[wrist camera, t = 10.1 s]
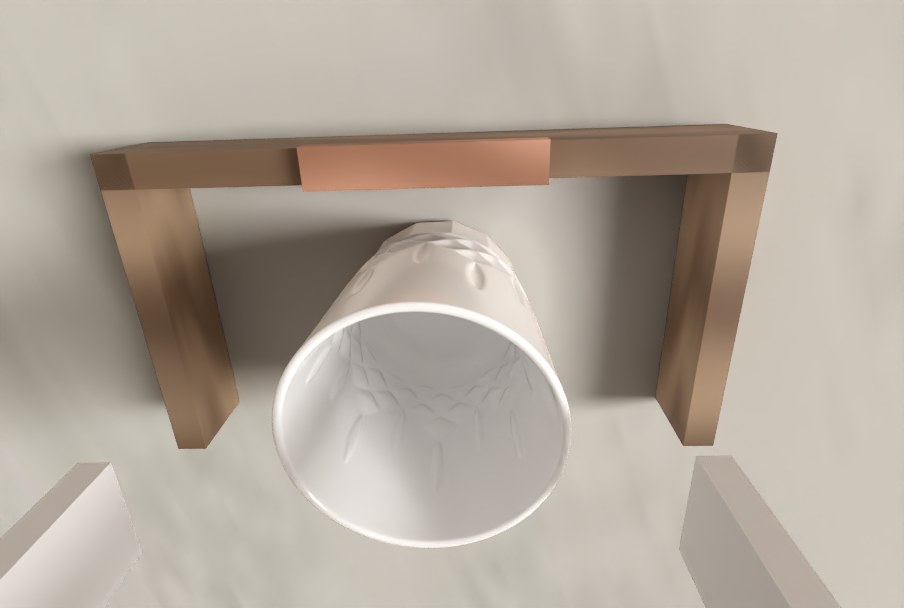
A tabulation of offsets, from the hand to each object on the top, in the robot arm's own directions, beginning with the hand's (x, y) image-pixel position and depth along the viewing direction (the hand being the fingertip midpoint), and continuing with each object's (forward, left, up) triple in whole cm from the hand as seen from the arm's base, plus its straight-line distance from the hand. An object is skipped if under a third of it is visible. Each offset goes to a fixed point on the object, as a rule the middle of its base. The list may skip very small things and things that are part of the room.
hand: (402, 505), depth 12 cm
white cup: (0, 0, -12) cm, 12 cm away
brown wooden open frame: (0, 0, -12) cm, 12 cm away
